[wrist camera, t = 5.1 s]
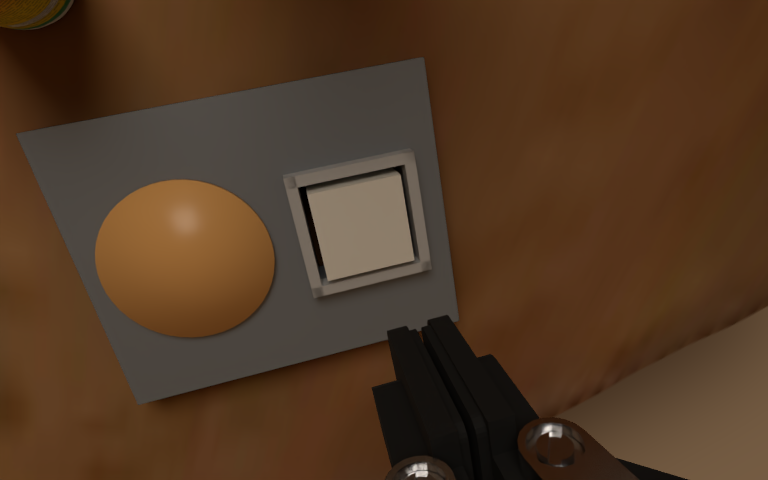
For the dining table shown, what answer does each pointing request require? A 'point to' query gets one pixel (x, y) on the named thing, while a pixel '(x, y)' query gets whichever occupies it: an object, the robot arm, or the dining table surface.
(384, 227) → the button
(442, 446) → the robot arm
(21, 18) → the supplement bottle
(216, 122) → the grey flat rectangular block
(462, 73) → the dining table surface
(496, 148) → the dining table surface
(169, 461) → the dining table surface
